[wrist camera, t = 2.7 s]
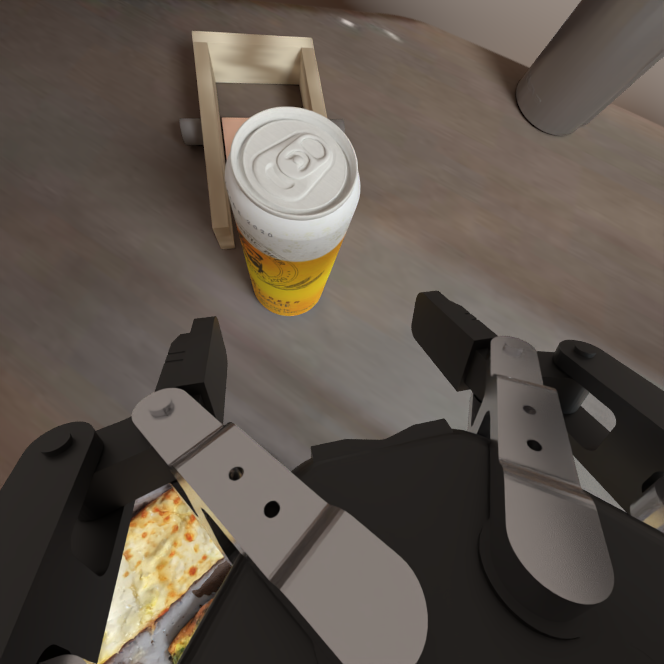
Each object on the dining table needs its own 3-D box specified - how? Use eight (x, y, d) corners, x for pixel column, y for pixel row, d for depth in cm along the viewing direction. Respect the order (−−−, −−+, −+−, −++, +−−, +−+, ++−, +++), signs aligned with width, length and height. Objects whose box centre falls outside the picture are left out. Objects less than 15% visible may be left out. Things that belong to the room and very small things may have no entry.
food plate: (50, 1004, 16) (-9, 1160, 13) (-127, 617, 18) (-218, 665, 15) (394, 640, 23) (414, 681, 20) (236, 388, 25) (230, 385, 22)
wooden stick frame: (326, 76, 32) (332, 39, 29) (358, 238, 29) (369, 218, 26) (180, 71, 29) (167, 29, 26) (197, 250, 26) (185, 229, 23)
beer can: (238, 285, 26) (185, 150, 12) (287, 241, 28) (294, 75, 13) (289, 332, 26) (298, 255, 12) (335, 286, 28) (394, 167, 13)
